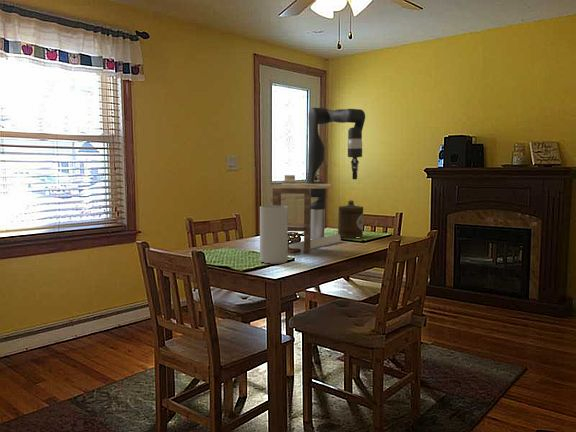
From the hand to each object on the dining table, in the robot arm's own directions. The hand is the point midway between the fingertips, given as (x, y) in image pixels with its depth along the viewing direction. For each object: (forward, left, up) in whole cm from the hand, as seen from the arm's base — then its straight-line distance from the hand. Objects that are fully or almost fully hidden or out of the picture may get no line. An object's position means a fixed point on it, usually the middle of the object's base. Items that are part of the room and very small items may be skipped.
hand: (354, 179), depth 268 cm
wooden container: (-36, -1, -36) cm, 51 cm away
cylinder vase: (+43, -38, -36) cm, 67 cm away
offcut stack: (+9, -34, -4) cm, 35 cm away
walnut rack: (+14, -32, -36) cm, 50 cm away
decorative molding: (-6, -20, -37) cm, 42 cm away
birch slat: (+17, -25, -4) cm, 30 cm away
